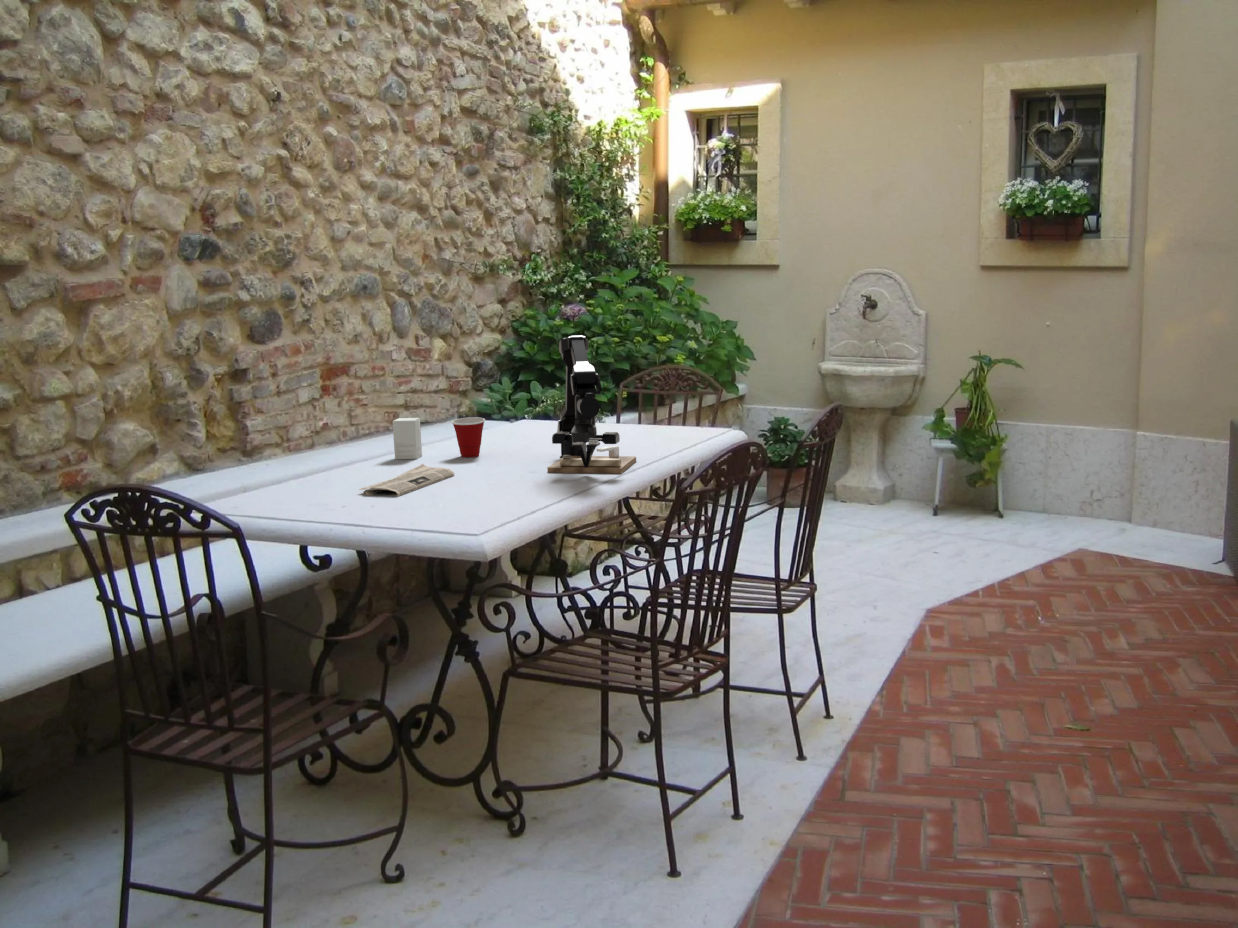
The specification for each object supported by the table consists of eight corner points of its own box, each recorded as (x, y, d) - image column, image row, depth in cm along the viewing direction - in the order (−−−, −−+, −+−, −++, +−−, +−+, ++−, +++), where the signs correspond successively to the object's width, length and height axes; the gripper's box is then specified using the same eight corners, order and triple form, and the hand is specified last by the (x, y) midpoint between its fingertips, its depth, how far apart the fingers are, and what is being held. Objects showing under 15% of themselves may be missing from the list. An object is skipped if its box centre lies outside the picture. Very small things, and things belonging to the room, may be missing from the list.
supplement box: (422, 456, 383) (420, 417, 381) (416, 459, 375) (414, 420, 373) (400, 456, 383) (398, 417, 381) (394, 459, 376) (392, 420, 374)
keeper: (601, 460, 356) (601, 449, 355) (596, 459, 357) (596, 448, 357) (619, 457, 361) (618, 446, 360) (613, 456, 363) (613, 445, 362)
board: (547, 472, 345) (547, 467, 345) (566, 460, 367) (566, 455, 367) (621, 473, 340) (621, 468, 340) (636, 461, 363) (636, 456, 362)
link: (558, 465, 345) (558, 456, 345) (562, 463, 349) (561, 454, 349) (618, 466, 342) (618, 457, 341) (621, 464, 346) (621, 454, 345)
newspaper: (398, 498, 311) (397, 485, 310) (356, 497, 314) (355, 483, 314) (456, 476, 344) (456, 464, 343) (418, 475, 347) (417, 463, 347)
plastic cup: (447, 458, 377) (445, 421, 375) (461, 453, 387) (459, 417, 385) (478, 459, 374) (477, 421, 372) (491, 454, 384) (490, 417, 382)
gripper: (546, 417, 331) (547, 471, 333) (611, 417, 327) (612, 472, 329) (556, 412, 341) (557, 465, 344) (619, 412, 338) (620, 466, 340)
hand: (586, 467), depth 339 cm, fingers closed
